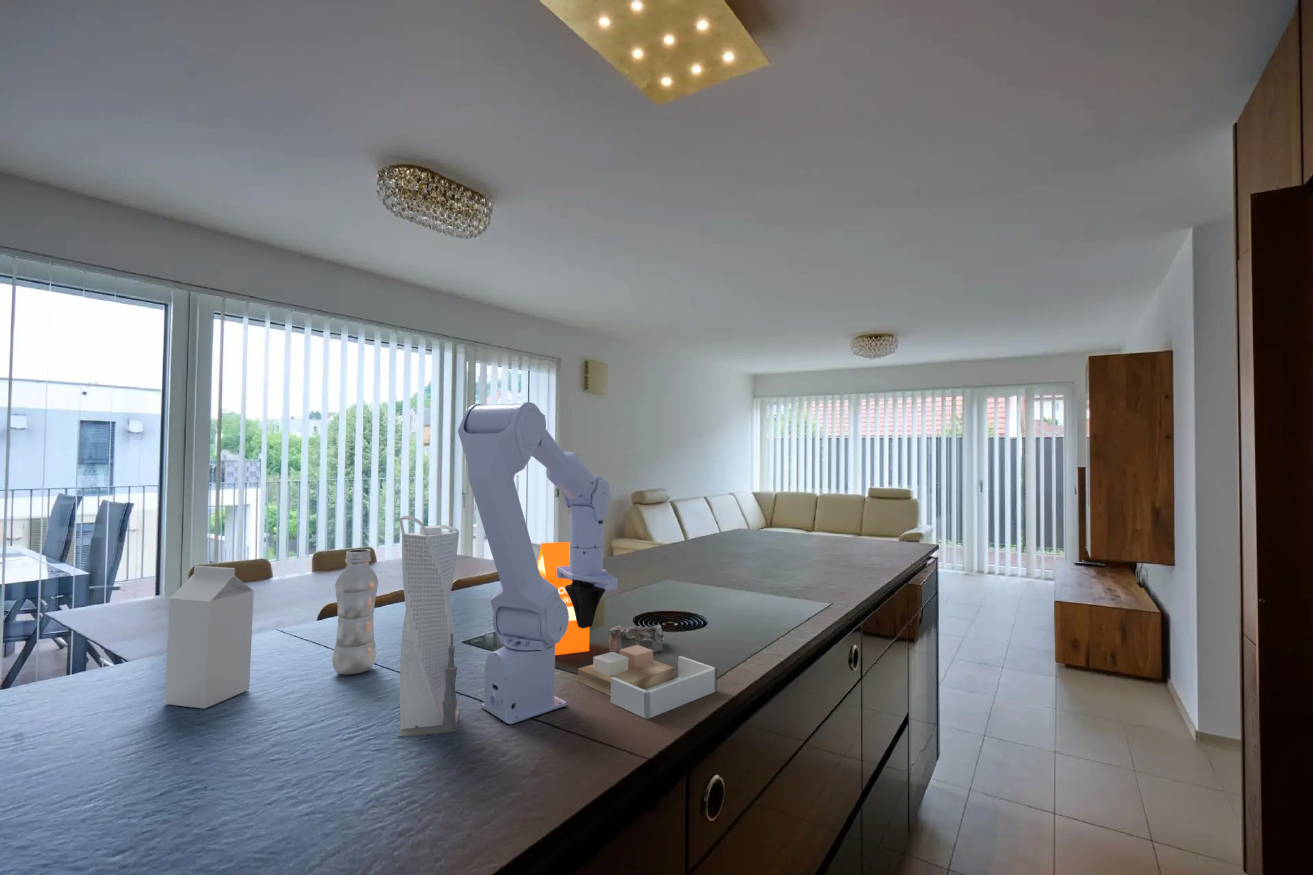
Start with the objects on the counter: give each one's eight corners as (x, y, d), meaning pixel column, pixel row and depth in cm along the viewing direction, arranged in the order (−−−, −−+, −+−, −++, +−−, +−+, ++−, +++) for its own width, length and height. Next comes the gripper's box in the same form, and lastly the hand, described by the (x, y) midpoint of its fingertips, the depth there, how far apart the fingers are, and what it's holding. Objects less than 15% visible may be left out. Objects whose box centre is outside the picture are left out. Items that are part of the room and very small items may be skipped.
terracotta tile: (635, 668, 95) (635, 655, 95) (619, 661, 98) (619, 649, 98) (652, 662, 98) (653, 650, 98) (636, 656, 101) (637, 644, 101)
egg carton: (607, 654, 109) (607, 632, 109) (608, 642, 116) (608, 621, 116) (664, 654, 109) (664, 632, 109) (662, 641, 117) (662, 621, 117)
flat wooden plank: (618, 699, 87) (618, 685, 87) (577, 681, 94) (578, 668, 94) (674, 679, 96) (674, 667, 96) (633, 664, 103) (633, 652, 103)
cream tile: (609, 676, 91) (609, 663, 91) (593, 669, 94) (593, 656, 94) (628, 670, 94) (628, 657, 94) (612, 663, 97) (612, 651, 97)
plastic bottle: (384, 666, 100) (388, 548, 101) (360, 680, 93) (364, 554, 94) (348, 664, 101) (352, 547, 102) (322, 678, 94) (327, 553, 95)
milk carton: (204, 709, 82) (211, 572, 82) (163, 705, 83) (170, 570, 84) (249, 690, 89) (255, 564, 89) (210, 686, 90) (217, 562, 91)
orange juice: (533, 644, 113) (535, 540, 114) (577, 639, 117) (579, 538, 118) (543, 657, 106) (545, 545, 107) (589, 651, 110) (591, 543, 111)
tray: (646, 719, 81) (647, 693, 81) (610, 702, 86) (610, 678, 86) (716, 690, 91) (717, 668, 91) (680, 677, 97) (680, 655, 97)
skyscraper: (385, 740, 74) (393, 518, 75) (396, 714, 82) (403, 513, 83) (456, 733, 76) (462, 517, 78) (459, 708, 84) (465, 512, 85)
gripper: (632, 548, 97) (631, 631, 97) (579, 539, 108) (578, 614, 107) (599, 552, 93) (597, 639, 92) (547, 543, 103) (545, 621, 102)
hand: (584, 626), depth 99 cm, fingers closed
